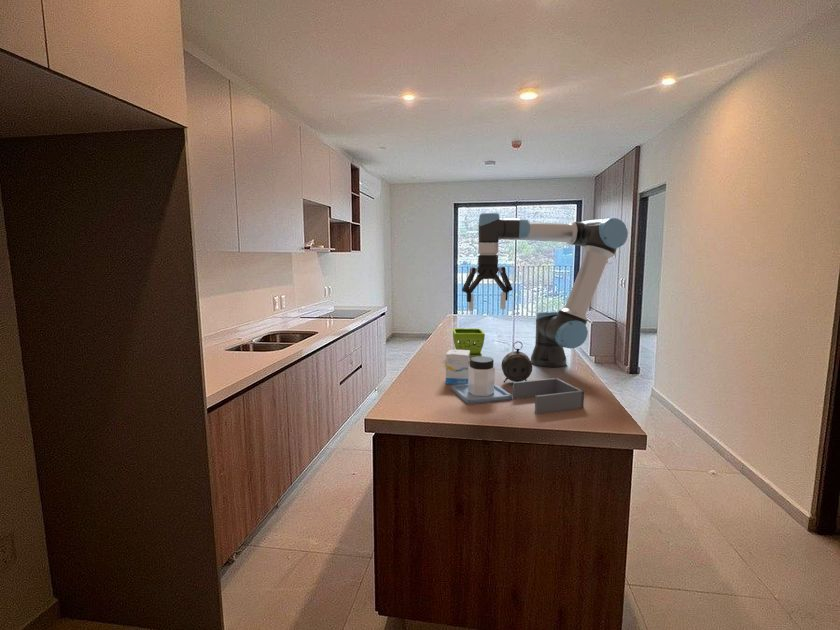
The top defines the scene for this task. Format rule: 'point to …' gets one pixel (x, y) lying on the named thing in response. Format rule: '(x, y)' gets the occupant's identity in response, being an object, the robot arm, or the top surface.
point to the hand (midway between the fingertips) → (487, 309)
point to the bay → (550, 394)
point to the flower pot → (469, 335)
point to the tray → (471, 399)
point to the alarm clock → (516, 366)
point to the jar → (481, 376)
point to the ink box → (457, 366)
